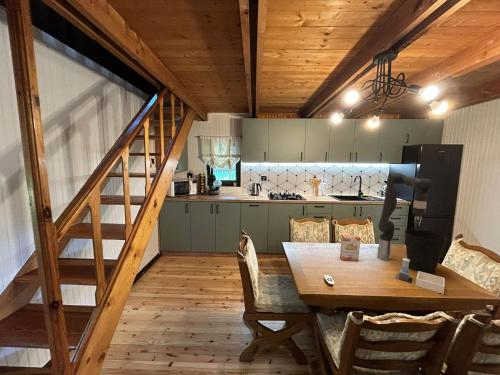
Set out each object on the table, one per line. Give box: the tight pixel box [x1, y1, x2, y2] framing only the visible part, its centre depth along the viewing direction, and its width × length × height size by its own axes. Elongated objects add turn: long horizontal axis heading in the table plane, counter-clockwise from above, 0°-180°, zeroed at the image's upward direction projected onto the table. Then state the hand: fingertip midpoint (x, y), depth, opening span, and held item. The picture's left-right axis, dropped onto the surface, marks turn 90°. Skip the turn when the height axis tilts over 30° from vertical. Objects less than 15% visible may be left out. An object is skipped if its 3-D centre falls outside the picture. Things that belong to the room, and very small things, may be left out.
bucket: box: [404, 227, 448, 275], centre depth 190 cm, size 27×28×30 cm
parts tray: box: [415, 271, 446, 295], centre depth 165 cm, size 15×15×6 cm
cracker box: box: [339, 234, 361, 262], centre depth 205 cm, size 14×6×21 cm, turn 84°
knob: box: [398, 257, 411, 281], centre depth 173 cm, size 6×6×14 cm
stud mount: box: [394, 273, 414, 284], centre depth 174 cm, size 10×10×5 cm
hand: (416, 229), depth 170 cm, fingers open, 8 cm apart
